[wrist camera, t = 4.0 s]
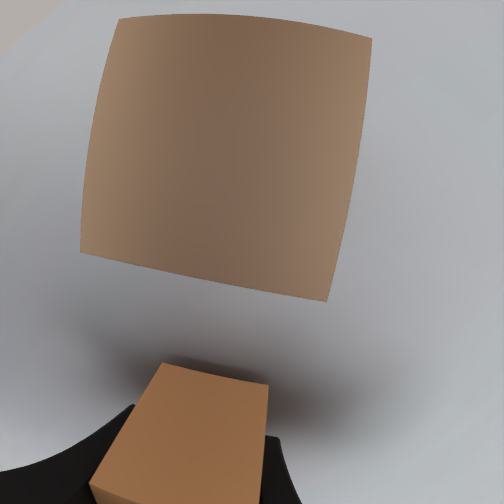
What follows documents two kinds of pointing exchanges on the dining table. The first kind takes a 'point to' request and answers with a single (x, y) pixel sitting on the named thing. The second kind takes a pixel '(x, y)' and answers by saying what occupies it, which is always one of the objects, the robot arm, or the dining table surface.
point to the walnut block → (226, 149)
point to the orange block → (188, 443)
